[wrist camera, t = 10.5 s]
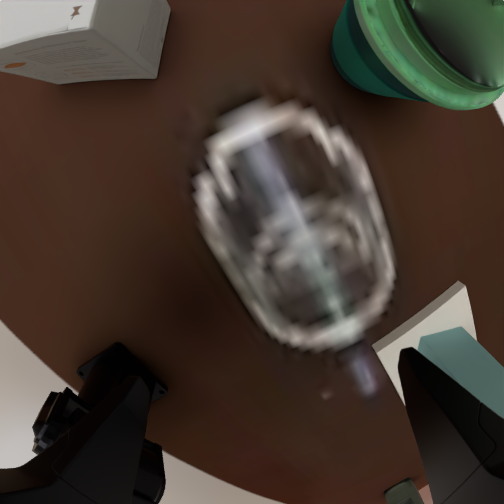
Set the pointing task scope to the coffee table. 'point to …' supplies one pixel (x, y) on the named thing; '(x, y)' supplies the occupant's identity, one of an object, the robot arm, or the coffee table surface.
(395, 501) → the power adapter
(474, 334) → the cream tile
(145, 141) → the coffee table surface
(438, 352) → the teal block
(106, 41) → the small box
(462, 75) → the cup
